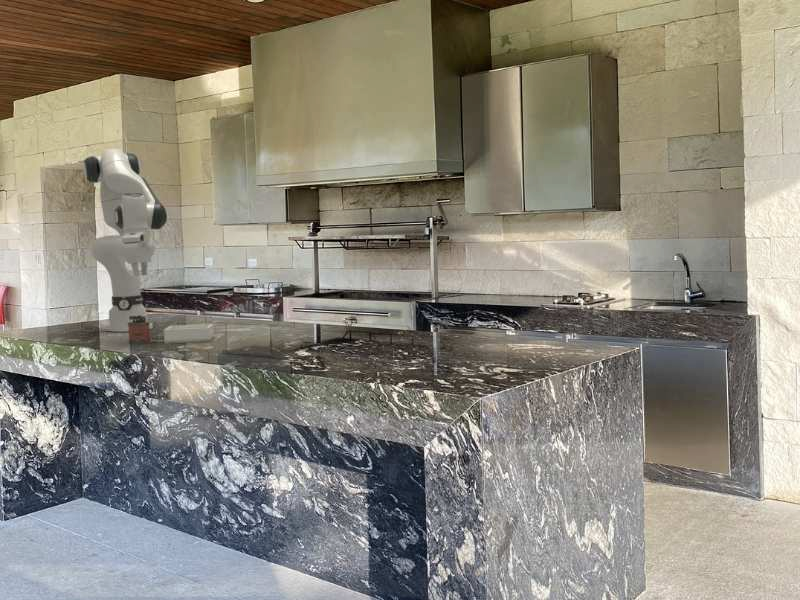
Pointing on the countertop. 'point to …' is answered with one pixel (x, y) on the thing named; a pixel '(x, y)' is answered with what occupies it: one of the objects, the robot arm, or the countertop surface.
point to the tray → (189, 333)
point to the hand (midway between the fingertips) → (140, 275)
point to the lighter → (139, 330)
